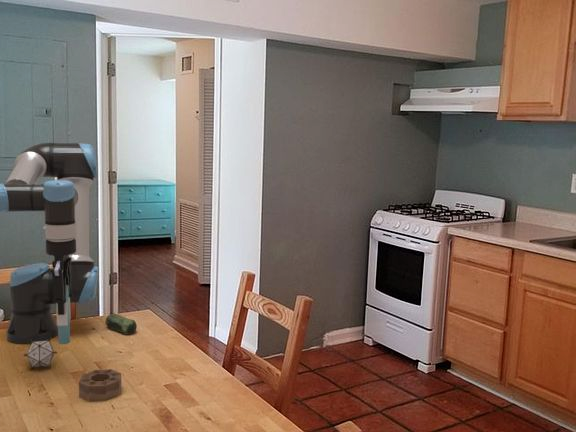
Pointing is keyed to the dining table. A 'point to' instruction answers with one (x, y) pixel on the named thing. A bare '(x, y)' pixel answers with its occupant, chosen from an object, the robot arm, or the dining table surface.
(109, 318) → the vegetable
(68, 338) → the teal rounded stick
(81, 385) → the bead
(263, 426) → the dining table surface
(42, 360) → the game die
